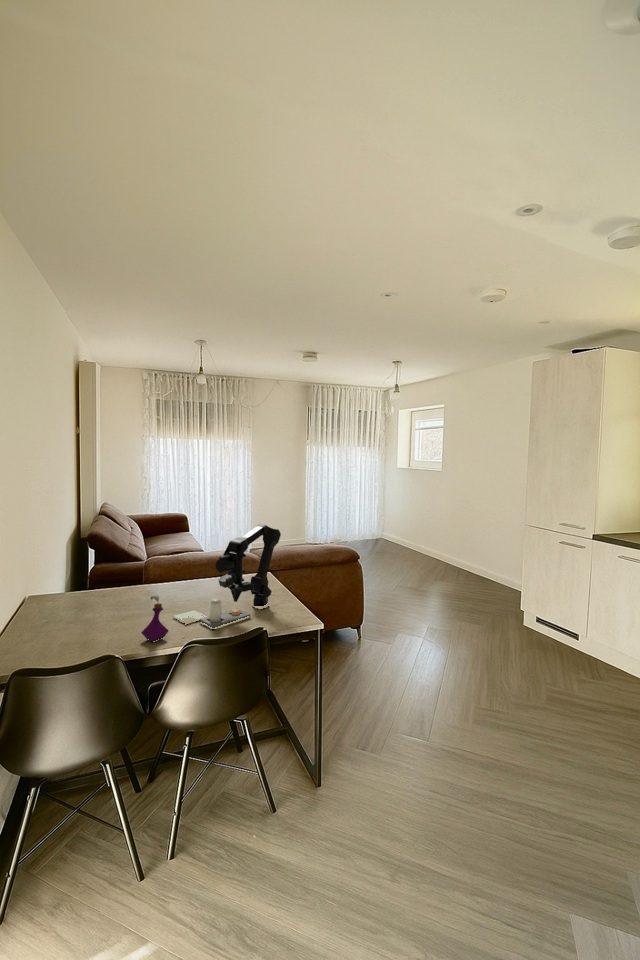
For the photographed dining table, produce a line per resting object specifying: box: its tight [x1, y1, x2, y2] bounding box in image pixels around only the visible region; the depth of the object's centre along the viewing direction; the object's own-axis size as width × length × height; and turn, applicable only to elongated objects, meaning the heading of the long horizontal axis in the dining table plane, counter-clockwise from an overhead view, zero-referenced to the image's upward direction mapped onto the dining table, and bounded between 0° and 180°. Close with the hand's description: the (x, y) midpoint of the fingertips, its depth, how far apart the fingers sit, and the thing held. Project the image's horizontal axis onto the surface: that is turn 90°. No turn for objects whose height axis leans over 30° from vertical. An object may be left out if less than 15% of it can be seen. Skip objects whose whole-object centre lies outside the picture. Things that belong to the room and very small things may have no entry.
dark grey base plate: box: [199, 608, 251, 628], centre depth 202 cm, size 20×10×2 cm, turn 137°
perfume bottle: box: [141, 594, 169, 642], centre depth 180 cm, size 8×8×18 cm
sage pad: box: [172, 610, 208, 620], centre depth 203 cm, size 11×11×1 cm
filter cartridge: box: [209, 598, 222, 623], centre depth 198 cm, size 5×5×11 cm
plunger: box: [230, 608, 241, 616], centre depth 206 cm, size 4×4×3 cm
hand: (235, 601), depth 205 cm, fingers closed
